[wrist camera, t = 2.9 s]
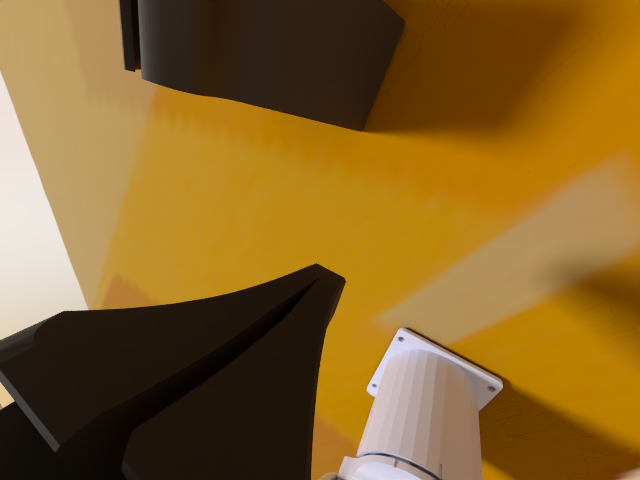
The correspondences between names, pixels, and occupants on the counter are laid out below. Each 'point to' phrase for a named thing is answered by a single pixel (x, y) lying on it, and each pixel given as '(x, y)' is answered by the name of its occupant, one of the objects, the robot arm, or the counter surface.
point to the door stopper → (266, 52)
